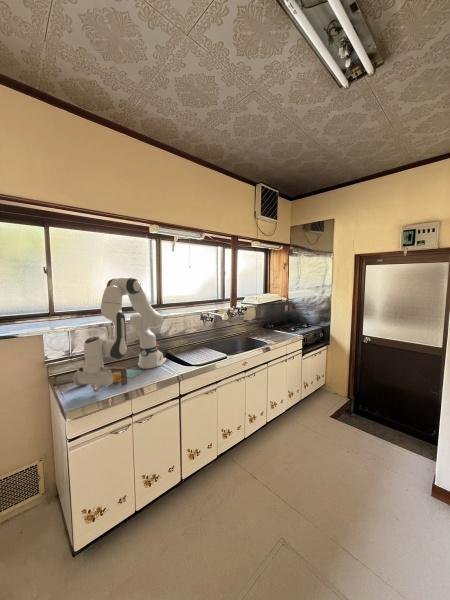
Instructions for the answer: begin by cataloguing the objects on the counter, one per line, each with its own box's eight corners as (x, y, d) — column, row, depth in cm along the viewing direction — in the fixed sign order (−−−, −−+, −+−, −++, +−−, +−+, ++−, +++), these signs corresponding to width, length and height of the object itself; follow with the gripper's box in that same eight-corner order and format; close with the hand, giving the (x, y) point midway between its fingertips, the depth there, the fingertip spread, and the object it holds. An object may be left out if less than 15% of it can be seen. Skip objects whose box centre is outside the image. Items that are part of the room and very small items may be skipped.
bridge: (106, 381, 152) (105, 366, 151) (127, 382, 148) (126, 367, 148) (103, 383, 149) (101, 367, 148) (124, 385, 146) (123, 369, 145)
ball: (115, 379, 154) (114, 370, 153) (123, 379, 152) (122, 371, 151) (109, 384, 148) (107, 375, 147) (117, 385, 147) (116, 375, 146)
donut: (74, 388, 143) (73, 372, 142) (72, 387, 145) (71, 370, 144) (92, 383, 150) (91, 367, 149) (91, 381, 152) (89, 366, 151)
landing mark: (128, 369, 171) (128, 369, 171) (144, 370, 168) (144, 370, 168) (115, 377, 159) (115, 376, 159) (133, 378, 155) (133, 377, 155)
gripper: (114, 366, 134) (116, 390, 135) (84, 364, 139) (86, 387, 140) (106, 370, 128) (108, 395, 129) (74, 368, 133) (76, 392, 134)
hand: (96, 391), depth 134 cm, fingers closed
